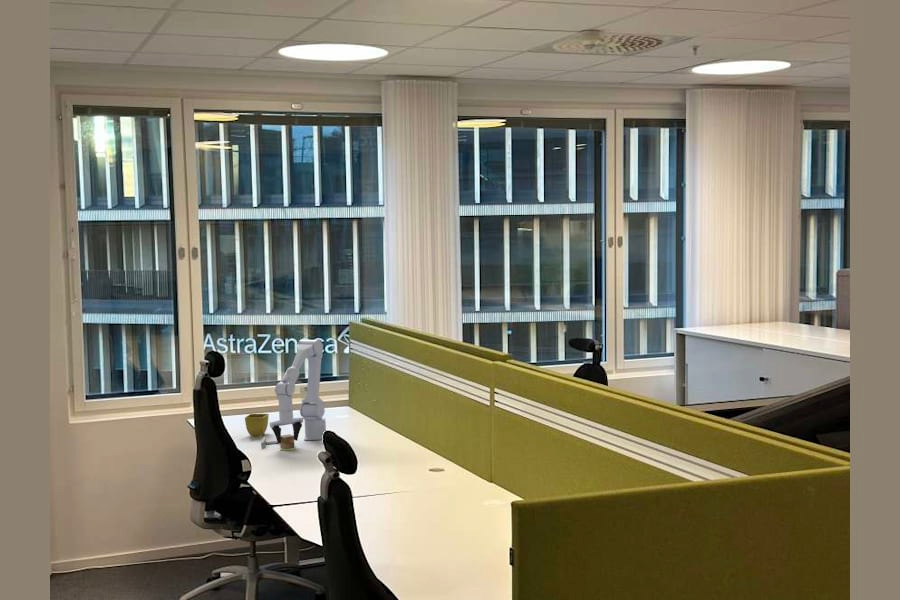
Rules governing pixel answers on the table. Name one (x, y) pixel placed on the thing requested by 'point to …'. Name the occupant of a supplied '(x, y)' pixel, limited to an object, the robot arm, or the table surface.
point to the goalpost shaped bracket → (267, 442)
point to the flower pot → (256, 424)
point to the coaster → (288, 449)
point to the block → (287, 441)
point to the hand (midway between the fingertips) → (287, 441)
